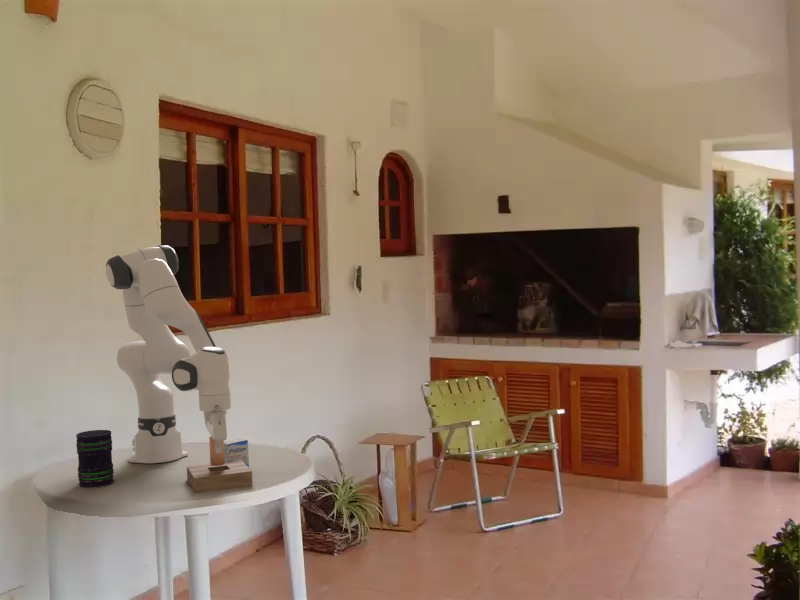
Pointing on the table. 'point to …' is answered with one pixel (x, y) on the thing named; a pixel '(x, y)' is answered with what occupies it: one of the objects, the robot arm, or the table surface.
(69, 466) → the table surface
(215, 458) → the peg
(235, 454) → the medicine box
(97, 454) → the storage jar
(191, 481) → the socket block
